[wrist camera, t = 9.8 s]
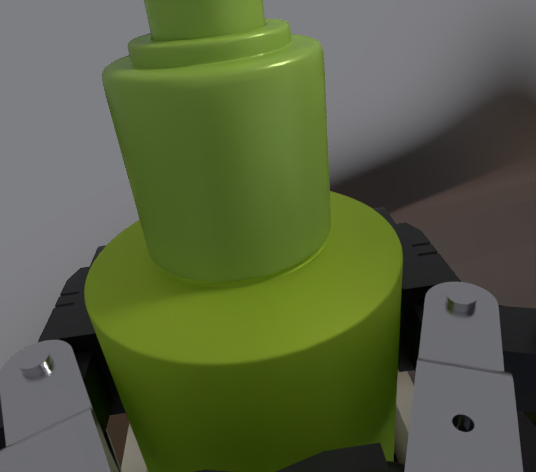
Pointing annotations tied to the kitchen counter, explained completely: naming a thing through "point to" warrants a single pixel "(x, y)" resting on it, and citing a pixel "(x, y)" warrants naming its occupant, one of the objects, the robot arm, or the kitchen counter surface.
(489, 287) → the kitchen counter surface
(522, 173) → the kitchen counter surface
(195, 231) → the soap dispenser
